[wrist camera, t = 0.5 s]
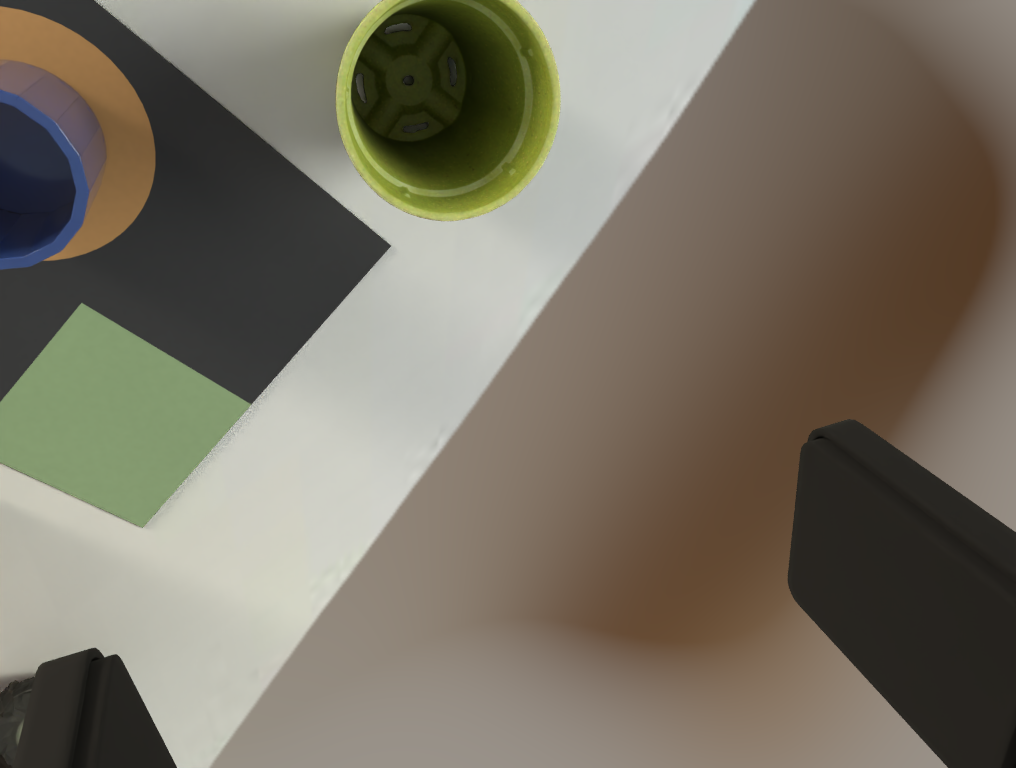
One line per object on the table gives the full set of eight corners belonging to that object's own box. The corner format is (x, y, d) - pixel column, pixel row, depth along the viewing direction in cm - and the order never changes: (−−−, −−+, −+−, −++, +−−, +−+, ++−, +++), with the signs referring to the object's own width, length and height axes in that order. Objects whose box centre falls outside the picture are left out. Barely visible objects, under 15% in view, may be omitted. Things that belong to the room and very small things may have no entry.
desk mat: (-326, 312, 34) (-326, 313, 34) (-28, -100, 31) (-28, -100, 30) (142, 527, 46) (142, 527, 45) (390, 245, 42) (391, 246, 42)
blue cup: (-109, 149, 33) (-176, 190, 28) (-15, 21, 32) (-63, 37, 27) (49, 247, 37) (20, 303, 31) (138, 136, 36) (125, 172, 30)
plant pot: (481, -45, 37) (546, -45, 30) (510, 151, 42) (572, 192, 35) (286, -8, 35) (306, 2, 28) (341, 193, 40) (369, 245, 33)
